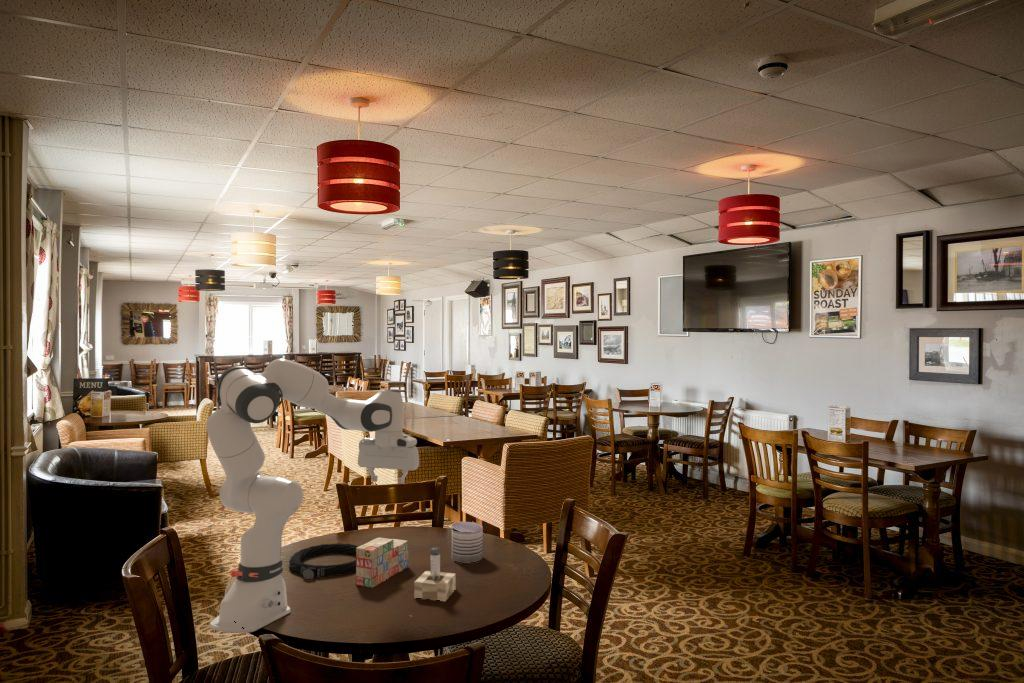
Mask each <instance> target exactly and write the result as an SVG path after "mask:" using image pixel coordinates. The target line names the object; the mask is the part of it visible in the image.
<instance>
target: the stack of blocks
mask: <svg viewBox="0 0 1024 683" xmlns="http://www.w3.org/2000/svg"><path fill="white" fill-rule="evenodd" d="M358 546H359V545H358ZM355 560H356V571H355V586H359V585H361V587H364V586H366V588H369V587H371V589H373V588H374V587H376V586H378V585H380V584H382V583H383V582H385V581H387V580H389V579H390V578H392V577H393V576H395V575H396V573H397V574H398V572H399V573H400V572H402V571H404V570H406V569H407V568H409V541H408V540H405V539H397V538H387V537H376V538H373V539H372V540H370V541H368V542H366V543H363V544H361V545H360V546H359V547H357V548H356V555H355ZM403 569H404V570H403ZM394 574H395V575H394ZM391 576H392V577H391ZM389 577H390V578H389ZM386 579H387V580H386ZM381 582H382V583H381Z"/></svg>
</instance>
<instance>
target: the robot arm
mask: <svg viewBox="0 0 1024 683" xmlns="http://www.w3.org/2000/svg"><path fill="white" fill-rule="evenodd" d="M217 388H218V389H217V391H218V392H217V398H216V401H217V404H219V405H220V408H219V409H217V410H215V411H213V412H212V413H211V414H210V415H209V417H208V418H207V420H206V432H207V436H208V438H209V441H210V443H211V444H210V445H211V447H212V449H213V450H214V453H215V455H216V457H217V459H218V461H219V462H220V464H221V466H222V469H223V472H224V473H225V480H224V481H223V482H222V484H221V486H220V488H219V499H220V503H221V505H222V506H224V507H225V508H227V509H230V510H232V511H235V512H239V513H246V514H253V515H254V514H255V520H254V524H253V526H251V527H250V528H248V529H246V530H245V531H244V533H243V534H242V535H241V537H240V562H239V563H238V567H237V568H236V569H233V568H232V569H231V571H230V577H231V578H236V579H235V581H234V582H233V583H232V585H231V587H230V588H229V590H228V592H226V594H225V595H224V597H223V598H222V600H221V602H220V606H219V613H218V614H219V615H217V616H216V617H215V618H214V619H213V620H211V621H210V623H209V628H211V629H212V630H214V631H219V632H224V633H232V634H233V633H234V634H247V633H253V632H256V631H258V630H259V629H261V628H262V629H263V627H265V626H267V625H269V624H271V623H273V622H274V621H275V622H276V621H277V620H278V619H282V617H284V616H286V615H289V614H290V613H291V606H289V605H288V599H287V598H288V596H287V584H286V582H285V580H284V577H283V575H282V573H283V568H284V563H283V558H282V541H283V540H282V537H283V531H284V529H285V526H286V524H287V521H288V520H289V519H290V518H291V516H293V515H294V514H295V513H297V511H298V510H299V509H300V507H301V506H302V504H303V498H304V491H303V488H302V486H301V484H300V483H299V482H298V481H295V480H293V479H291V478H287V477H282V476H274V475H264V474H262V473H261V472H260V470H261V469H262V467H263V466H264V463H265V459H266V458H265V457H266V455H265V453H264V450H263V448H262V446H261V444H260V442H259V440H258V437H257V436H256V434H255V432H254V430H253V428H252V425H251V424H262V423H264V422H267V421H268V420H269V419H270V418H271V417H272V416H274V414H275V413H276V412H277V410H278V408H279V406H280V405H282V403H283V400H284V401H288V402H289V403H292V404H293V405H297V406H300V407H302V408H306V409H312V410H316V411H319V412H320V413H322V414H324V415H326V416H328V417H329V418H331V420H333V422H334V423H335V425H337V426H338V427H339V428H340V429H342V430H345V431H346V430H348V431H350V430H351V431H358V432H359V431H360V432H368V433H373V432H374V438H367V437H364V438H363V439H360V440H359V442H358V450H359V451H358V454H357V455H358V457H357V466H359V467H360V468H367V472H368V473H369V475H370V481H371V482H373V483H376V482H378V480H379V479H378V478H379V476H378V475H376V473H375V472H374V471H375V469H385V470H386V469H387V470H400V471H401V474H402V475H401V477H400V476H399V477H398V480H397V481H398V483H397V484H401V485H402V484H403V485H404V484H405V480H406V479H405V478H406V477H407V475H408V473H409V471H415V470H417V469H418V468H419V466H420V455H419V449H418V447H417V446H416V445H417V443H418V440H417V438H415V437H412V436H410V435H407V434H405V433H403V432H404V431H403V430H404V429H403V425H402V423H403V418H404V402H403V401H404V400H403V396H402V393H401V392H399V391H397V390H393V389H386V388H381V389H379V390H378V391H377V392H376V393H375V394H374V395H373V396H371V397H370V398H368V399H363V400H362V399H355V398H351V397H347V398H339V397H338V396H335V395H334V394H332V393H330V392H329V390H330V386H329V381H328V379H327V378H326V377H325V376H324V375H322V373H320V372H319V371H317V370H314V368H311V367H309V366H306V365H304V364H302V363H299V362H296V361H294V360H290V359H285V358H275V359H274V360H272V361H270V363H268V364H267V366H266V368H265V369H264V371H262V372H260V373H259V374H257V373H256V372H255V371H254V370H252V369H250V368H248V367H246V366H242V365H235V366H234V365H233V366H230V367H228V368H227V369H225V370H224V371H222V373H221V375H220V376H219V379H218V385H217ZM234 621H235V622H236V623H235V622H234ZM242 627H243V628H244V629H243V628H242Z"/></svg>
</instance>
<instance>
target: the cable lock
mask: <svg viewBox="0 0 1024 683" xmlns="http://www.w3.org/2000/svg"><path fill="white" fill-rule="evenodd" d="M357 547H359V545H356V544H351V543H341V542H337V543H323V544H318V545H312V546H309V547H307V548H303V549H300V550H299V551H296V552H294V553H293V555H292V556H291V557H290V558H289V560H288V564H289V565H288V566H289V567H290V569H291V570H292V571H293V572H295V573H297V574H299V573H300V575H301V576H302V575H303V576H302V577H303V579H305V580H306V579H312V580H314V579H313V578H315V577H316V578H318V577H319V578H323V577H322V576H324V577H332V576H331V575H335V576H342V575H341V574H343V575H345V574H350V573H349V572H351V573H353V571H354V572H356V559H354V560H351V561H347V562H343V563H338V564H330V565H329V564H328V565H323V564H322V565H321V564H318V565H317V564H315V565H314V564H308V563H305V562H302V561H304V560H306V559H309V558H310V557H311V556H312V557H315V556H314V555H316V556H319V555H326V554H327V553H331V554H347V553H348V555H353V556H356V548H357ZM324 553H326V554H324ZM327 555H328V554H327ZM305 558H306V559H305ZM303 559H304V560H303ZM339 574H340V575H339ZM320 576H321V577H320ZM316 578H315V579H316Z"/></svg>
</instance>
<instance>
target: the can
mask: <svg viewBox="0 0 1024 683" xmlns="http://www.w3.org/2000/svg"><path fill="white" fill-rule="evenodd" d="M483 530H484V527H483V525H482V524H479V523H476V522H471V521H459V522H453V523H452V524H451V560H452V559H453V560H454V561H458V562H466V563H467V562H468V563H470V562H475V561H479V560H480V559H481V558H483V555H484V554H483V551H484V548H483V544H484V543H483V540H484V538H483V537H484V535H483V534H484V531H483ZM453 560H452V561H453ZM454 561H453V562H454ZM479 562H480V561H479Z"/></svg>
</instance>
